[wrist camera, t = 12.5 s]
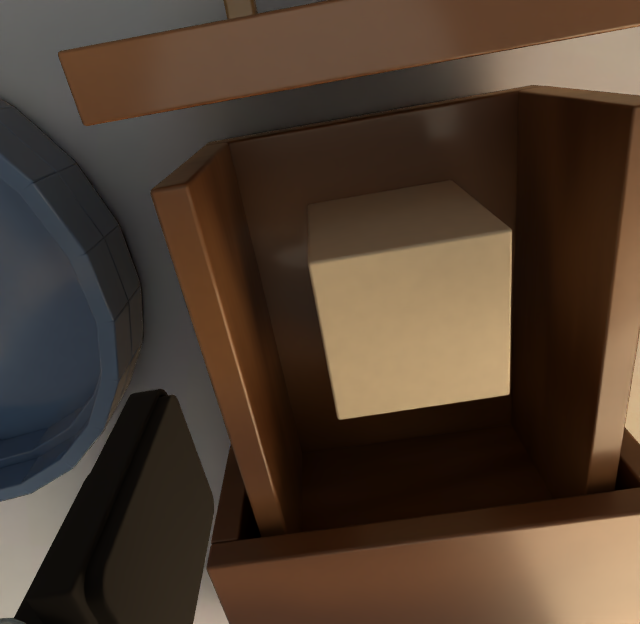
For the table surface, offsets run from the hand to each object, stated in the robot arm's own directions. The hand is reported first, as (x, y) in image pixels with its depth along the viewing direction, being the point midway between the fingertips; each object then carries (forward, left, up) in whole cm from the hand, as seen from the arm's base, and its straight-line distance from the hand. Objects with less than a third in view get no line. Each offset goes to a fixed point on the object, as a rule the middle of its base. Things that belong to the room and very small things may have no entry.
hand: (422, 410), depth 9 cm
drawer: (0, +1, -9) cm, 9 cm away
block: (0, 0, -8) cm, 8 cm away
